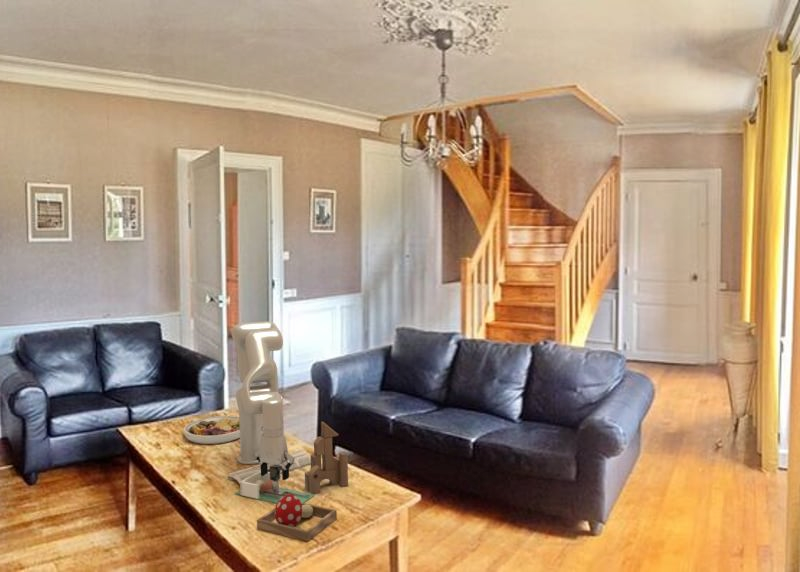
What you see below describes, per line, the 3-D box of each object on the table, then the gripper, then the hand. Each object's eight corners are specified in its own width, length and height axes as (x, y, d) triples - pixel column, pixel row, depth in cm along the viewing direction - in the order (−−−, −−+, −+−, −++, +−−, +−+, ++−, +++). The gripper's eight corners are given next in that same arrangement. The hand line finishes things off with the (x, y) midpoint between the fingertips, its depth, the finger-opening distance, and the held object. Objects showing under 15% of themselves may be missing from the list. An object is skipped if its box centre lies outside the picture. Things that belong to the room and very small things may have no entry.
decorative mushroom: (313, 487, 218) (281, 486, 206) (328, 512, 211) (297, 513, 200) (294, 509, 220) (262, 510, 208) (309, 535, 213) (277, 537, 202)
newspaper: (240, 488, 240) (239, 479, 239) (225, 479, 249) (224, 470, 249) (316, 463, 263) (316, 455, 263) (300, 455, 272) (300, 448, 272)
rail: (270, 488, 237) (270, 486, 236) (310, 497, 229) (310, 495, 228) (260, 495, 231) (260, 493, 231) (301, 504, 223) (301, 501, 223)
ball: (263, 476, 236) (269, 485, 235) (257, 481, 238) (262, 490, 237) (256, 480, 233) (262, 489, 232) (250, 485, 234) (255, 494, 234)
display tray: (288, 507, 221) (288, 499, 221) (336, 518, 213) (336, 510, 212) (257, 528, 206) (256, 520, 206) (307, 541, 197) (307, 532, 197)
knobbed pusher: (270, 488, 236) (269, 462, 235) (288, 492, 233) (287, 465, 232) (260, 494, 231) (259, 467, 230) (278, 498, 228) (277, 470, 227)
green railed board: (254, 482, 243) (254, 481, 243) (314, 495, 231) (314, 494, 231) (235, 494, 233) (234, 492, 233) (297, 508, 221) (297, 507, 221)
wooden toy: (311, 495, 232) (309, 429, 229) (304, 488, 237) (302, 424, 235) (349, 485, 239) (348, 421, 237) (342, 479, 245) (340, 417, 243)
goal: (261, 482, 242) (260, 470, 242) (278, 486, 239) (277, 473, 238) (240, 494, 232) (239, 481, 231) (257, 498, 228) (257, 485, 228)
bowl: (185, 429, 310) (184, 414, 309) (247, 422, 319) (246, 407, 318) (183, 450, 281) (182, 432, 281) (252, 442, 290) (251, 425, 290)
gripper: (247, 431, 230) (249, 476, 232) (286, 438, 222) (288, 484, 224) (261, 425, 237) (262, 469, 239) (298, 431, 229) (300, 477, 231)
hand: (274, 476), depth 231 cm, fingers open, 9 cm apart
